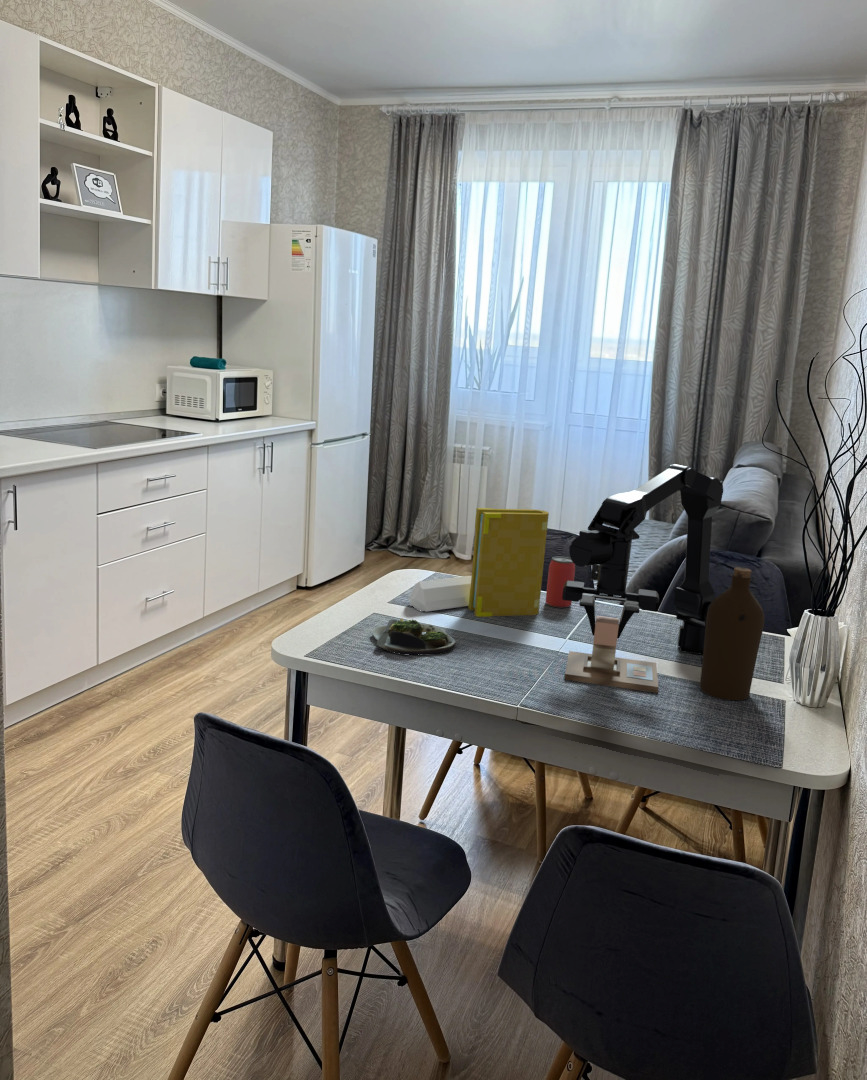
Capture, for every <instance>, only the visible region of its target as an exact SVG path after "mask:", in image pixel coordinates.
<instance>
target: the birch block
mask: <svg viewBox="0 0 867 1080" xmlns="http://www.w3.org/2000/svg"><path fill="white" fill-rule="evenodd" d="M616 653H617V645H616V646H608V645H601V644H592V652H591V654H592V659H591V667H598V668H605V669H612V670H614V661H615V657H616Z"/></svg>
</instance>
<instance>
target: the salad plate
mask: <svg viewBox="0 0 867 1080" xmlns="http://www.w3.org/2000/svg"><path fill="white" fill-rule="evenodd" d="M422 632H426V634H422ZM371 633H372V636H373V638H375V640H376V641H377V642H376V646H377V647H379V648H381V649H383V650H384V651H386V650H388V651H391V652H395V653H400V654H409V655H413V656H421V655H420V654H435V655H441V654H440V653H442V654H446V653H449V652H450V651H451V650H453V649H454V648H455V646H456V639H455V638H453V637H452V636H451V635H449V634H448V633H447V632H446V631H445V630H443V629H442V628H441V627H439V626H436V625H432V624H426V623H420V622H419V621H417V620H416V619H413V618H412V619H409V620H404V618H400V619H399V620H397V619H389V621H388V623H387V625H381V626H378V627H376V628H375V627H374V629H372V631H371ZM388 651H387V652H388ZM448 651H449V652H448ZM391 652H390V653H391ZM445 652H446V653H445ZM418 654H419V655H418ZM409 655H408V656H409Z"/></svg>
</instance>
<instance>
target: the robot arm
mask: <svg viewBox="0 0 867 1080" xmlns="http://www.w3.org/2000/svg"><path fill="white" fill-rule="evenodd" d="M677 492H680V504H681V505H682V508H683V510H684V511H685V513H686V515H687V527H686V528H687V529H686V546H685V547H686V548H685V550H686V551H685V566H684V567H685V569H684V579H683V581H682V582H681V584H680V585H679V586H678V587H675V589H674V591H673V593H674V595H673V597H674V599H673V603H672V605H674V610H675V617H676V620H678V621H679V620H680V621H682V625H680V626H679V629H678V634H677V641H676V642H677V646H678V647H679V651H680V652H683V653H689V654H691V653H692V654H695V655H696V654H697V655H703V651H704V640H705V629H706V617H707V611H708V609H709V606H710V604H711V603H712V601H713V600H714V599H715V598H716V591H715V590H714V589H713V587H712V584H711V583H710V581H709V580H710V579H709V578H710V577H709V576H710V563H711V562H710V561H711V560H710V559H711V558H710V557H711V545H712V544H711V543H712V541H711V540H712V527H713V526H712V525H713V517H714V515H715V514H716V513H717V512H718V510H719V508H720V507H721V505H722V498H723V494H724V486H723V482H721V480H720V479H719V478H717V477H713V476H708V475H705V474H703V473H700V472H698V471H697V470H696V469H694V468H692V467H691V466H686V465H682V464H681V465H680V464H676V463H674V464H670V465H668V466H667V467H666V469H665V470H664V471H662V472H661V473H659V474H657V475H656V476H654V477H653V478H651V479H649V480H648V481H646V482H645V483H643V484H642V485H640V486H639V487H637V488H636V489H633V490H631V491H627V492H620V493H616V494H613V495H610V496H608V497H606V498H605V499H604V500H603V501H602V503H601V505H600V507H599V508H598V509H597V512H596V514H595V515H594V516H593V518H592V520H591V522H590V524H589V525H588V527H587V530H580V531H579V533H578V534H579V535H578V537H576V538H574V539H573V540H572V542H571V543H570V545H569V548H568V549H569V551H568V552H569V556H570V557H569V558H571V560H572V561H573V563H574V565H575V566H576V567H578V568H579V567H580V568H583V567H589V566H590V567H591V573H590V580H591V581H594V582H595V581H596V588H593V587H585V582H582V581H577V580H576V581H575V580H574V581H566V582H565V583H564V587H563V595H562V599H563V600H567V601H572V602H575V603H577V602H579V607H582V608H584V611H585V613H586V615H587V618H588V622H589V625H590V630H591V635H592V636H594V633H595V625H596V599H599V600H608V601H616V602H623V607H622V612H621V615H620V618H619V628H618V636H617V640H618V639H620V636H621V635H622V634H623V631H624V630H625V627H626V625H627V624H628V622H629V621H630V620H631V618H632V616H633V615H634V614H640V610H642V611H648V612H658V611H659V607H660V594H659V593H658V591H656V590H650V589H643V588H639V589H638V593H634V592H627V585H628V584H627V583H628V576H629V568H630V558H631V550H632V541H633V540H638V539H640V535H639V534H638V533H637V532H636V531H635V529H636V528H637V527H638V526H639V525H640V524H641V523H643V522H644V521H645V520H646V517H647V513H648V512H649V511H650V510H651V509H653V508H654V507H655V506H657V505H658V504H660V503H662V502H663V501H665V500H666V499H668V498H670V497H671V496H672V495H674V494H675V493H677Z"/></svg>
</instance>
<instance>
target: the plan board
mask: <svg viewBox="0 0 867 1080" xmlns="http://www.w3.org/2000/svg"><path fill="white" fill-rule="evenodd" d="M591 659H592V653H589V652H581V651H580V652H579V651H573V650H569V651H568V656H567V661H566V666H565V672H564V679H563V680H565V681H573V682H579V683H585V684H594V685H599V686H608V687H613V686H614V687H613V688H620V687H621V689H628V690H633V691H634V690H636V691H642V692H651V693H657V694H658V693H659V679H658V667H657V662H653V661H646V660H638V659H633V658H632V659H630V658H623V657H616V656H615V661H614V670H612V669H605V668H598V667H591Z"/></svg>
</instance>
